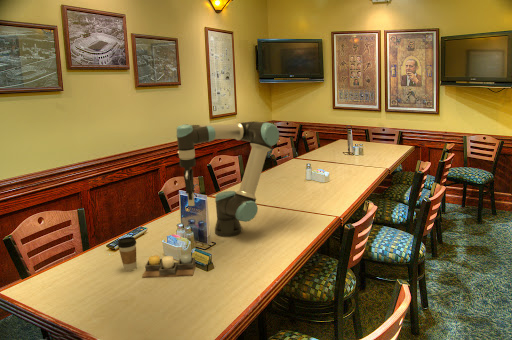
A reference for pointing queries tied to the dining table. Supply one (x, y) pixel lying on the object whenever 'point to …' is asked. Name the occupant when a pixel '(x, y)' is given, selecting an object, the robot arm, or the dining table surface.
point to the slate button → (186, 259)
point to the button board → (169, 270)
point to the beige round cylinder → (168, 262)
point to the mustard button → (154, 260)
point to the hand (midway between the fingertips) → (191, 205)
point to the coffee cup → (128, 253)
